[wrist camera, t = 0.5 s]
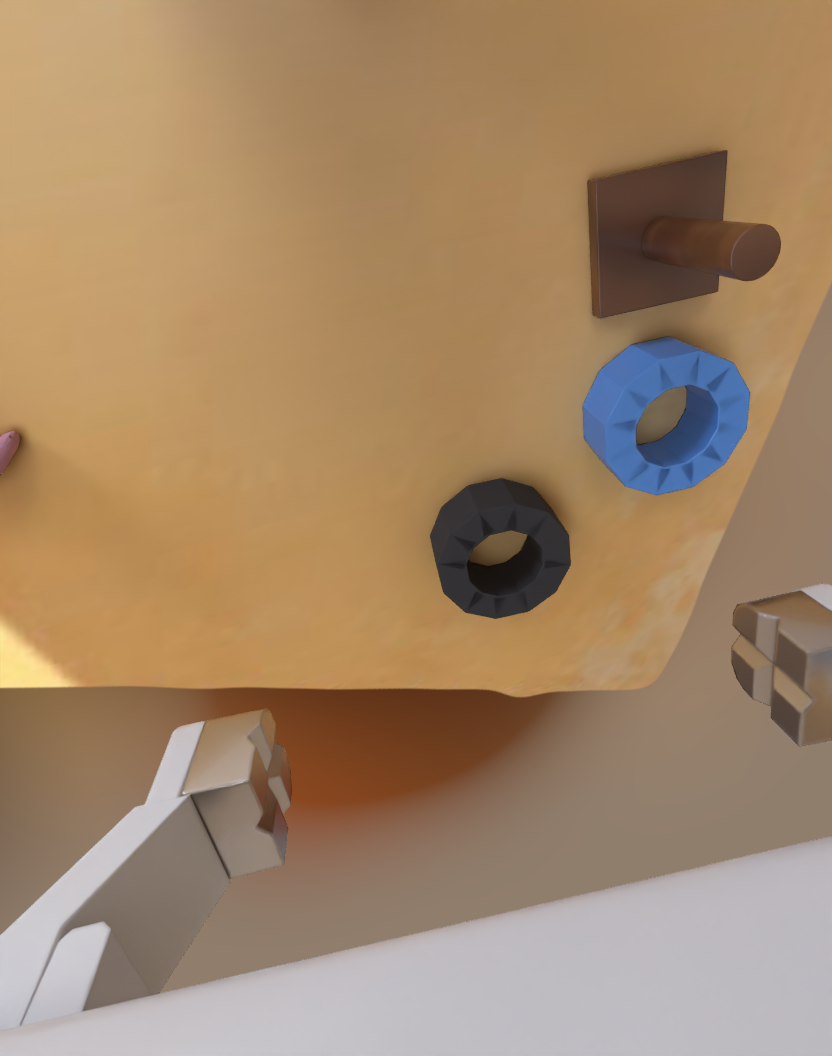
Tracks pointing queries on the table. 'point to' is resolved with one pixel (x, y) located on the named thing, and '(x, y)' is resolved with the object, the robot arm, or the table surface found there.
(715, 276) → the wooden stand
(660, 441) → the blue tape
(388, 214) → the table surface
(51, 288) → the table surface
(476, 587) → the ring
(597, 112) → the table surface
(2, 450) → the video game controller
